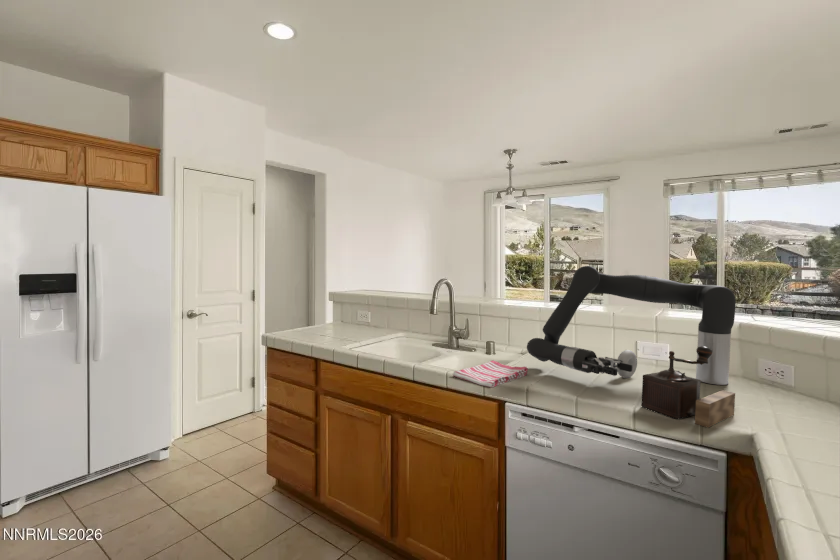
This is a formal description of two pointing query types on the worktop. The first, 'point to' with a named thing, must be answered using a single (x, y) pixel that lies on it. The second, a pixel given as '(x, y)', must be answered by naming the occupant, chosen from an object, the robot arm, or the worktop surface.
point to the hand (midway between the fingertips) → (624, 370)
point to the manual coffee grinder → (673, 388)
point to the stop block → (714, 408)
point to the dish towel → (491, 374)
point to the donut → (630, 359)
